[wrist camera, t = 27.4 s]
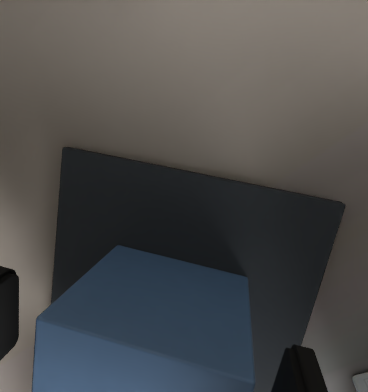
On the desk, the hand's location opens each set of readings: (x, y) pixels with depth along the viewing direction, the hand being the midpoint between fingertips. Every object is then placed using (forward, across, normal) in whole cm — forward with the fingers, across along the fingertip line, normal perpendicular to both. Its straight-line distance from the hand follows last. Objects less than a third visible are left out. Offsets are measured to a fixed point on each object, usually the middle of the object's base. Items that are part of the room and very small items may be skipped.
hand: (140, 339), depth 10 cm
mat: (+4, 0, +5) cm, 6 cm away
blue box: (+4, 0, +2) cm, 4 cm away
